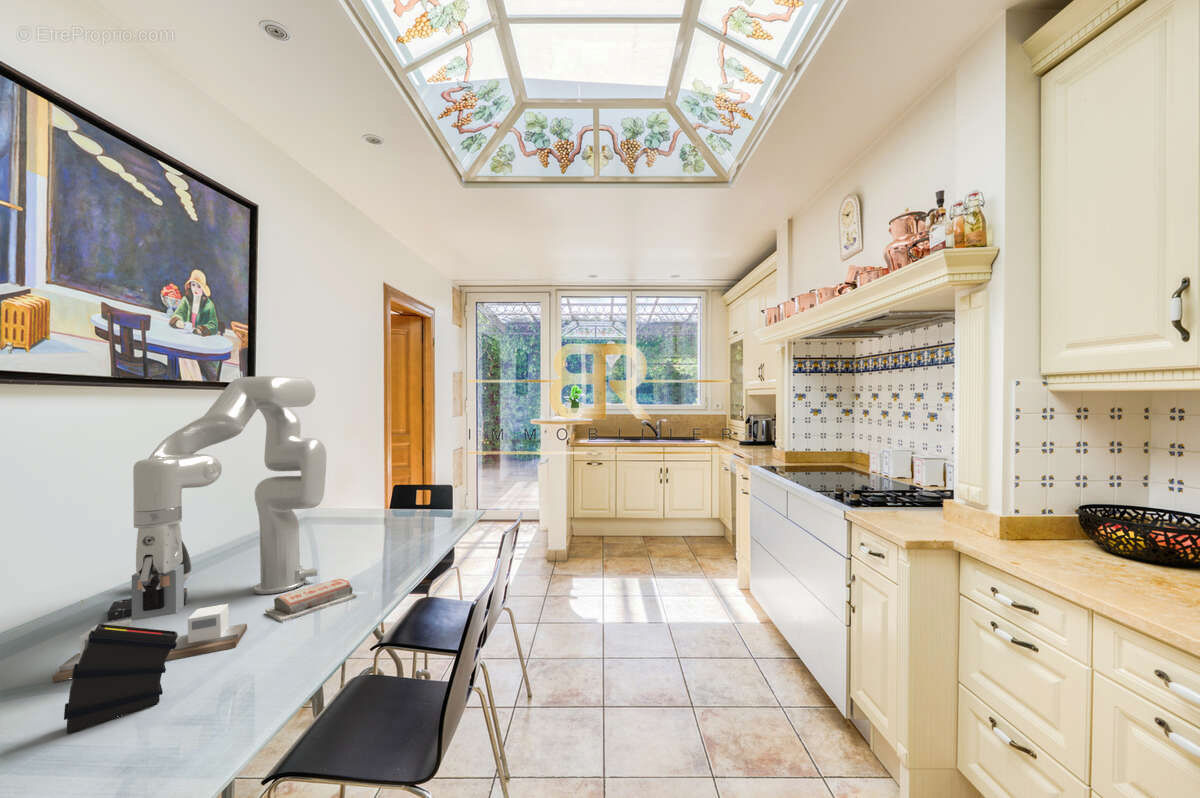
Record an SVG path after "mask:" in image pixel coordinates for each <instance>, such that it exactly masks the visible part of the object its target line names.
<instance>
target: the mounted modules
mask: <svg viewBox="0 0 1200 798" xmlns="http://www.w3.org/2000/svg"><path fill="white" fill-rule="evenodd" d="M105 624H106V625H116V626H126V627H133V625H132V624H133V621H132V619H127V620H121V621H119V620H118V621H114V622H113V621H112V622H107V623H105ZM97 626H98V624H96V625H94V626H93V627H92V628H90V629H89V630H88V631H86V632H85V633H84V634H83V635H81V636H80V640H79V641H80V645H79V647H80V652H79V653H80V658H81V655H82V652H83V650H84V648H85V647H86V645H87V643H88V638H89V634H90V632H91V631H95V629H96V627H97ZM228 626H230V625H229V603H226V604H218V605H213V606H207V607H201V608H196V610H195V611H194V612H193V613H192V614H191V615H190V616H189V617H188V618H187V634H188V643H192V642H198V641H203V640H209V639H214V638H219V637H221V636H222V635H223V633H224V632H225V631H226V629H227V628H228Z"/></svg>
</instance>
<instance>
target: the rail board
mask: <svg viewBox="0 0 1200 798" xmlns="http://www.w3.org/2000/svg"><path fill="white" fill-rule="evenodd" d="M247 631H248V623H239V624H235V625H229V626H228V628H227V629H226V631H225V632H224V633H223V635H222V636H221V637H219V638H214V639H209V640H203V641H198V642H192V643H188V633H184V634H178V637H177V639H176V643H177V646H176V647H175V649H171V651H170V652H169V654H168V656H167V658H166V660H168V661H170V660H169V659H173V660H177V659H176V658H178V659H183V658H182V657H184V658H188V657H192V656H199V655H202V654H208V653H209V654H210V653H215V652H218V651H225V650H229V649H234V648H237V646H238V644H239V643H240V642H241V640H242V638H243V636H244V635H245V634H246V632H247ZM79 661H80V652H78V653H76V654H74V655H73V656H72V657H70V658H69V659H68V660H65V662H64V663H63V664H61V665H60V666H59V667H58V668H59V669H58V672H56V673H55V674H54V675H53V676H52V683H53V682H55V681H60V682H62V681H61V680H65V681H67V680H66V679H69V678H72V672H73V668H74V665H75V664H78V663H79ZM55 683H56V682H55Z"/></svg>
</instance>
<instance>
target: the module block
mask: <svg viewBox="0 0 1200 798" xmlns="http://www.w3.org/2000/svg"><path fill="white" fill-rule="evenodd" d="M152 574H158V571H153V572H152ZM152 579H155V580H156V582H157V577H152ZM184 585H185V582H184V564H182V565H178V566H177V567H175V568H174V569H173V570H171V571H170V572H169V573H167V574H163V577H162V588H164V607H163V608H162V609H156V610H150V611H143V592H142V586H143V585H142V583H141V582H140V577H139V576H138V575H137V572H135V573H134V574H132V575H131V598H132V617H131V620H132V622H135V621H137V620H138V621H139V620H145V619H150V618H156V617H157V618H158V617H162V616H170V615H176V614H178V612H179V611H180V610H182V609H183V607H184V606H185V605H184V588H185V586H184Z"/></svg>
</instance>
